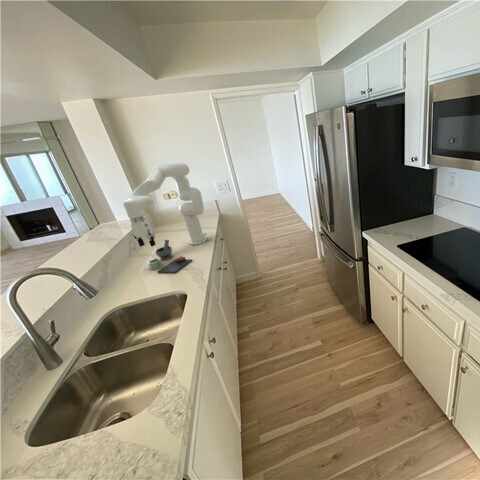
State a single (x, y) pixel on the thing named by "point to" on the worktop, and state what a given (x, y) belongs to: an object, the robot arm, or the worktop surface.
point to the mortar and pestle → (164, 251)
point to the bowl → (155, 264)
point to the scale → (175, 266)
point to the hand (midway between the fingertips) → (147, 245)
